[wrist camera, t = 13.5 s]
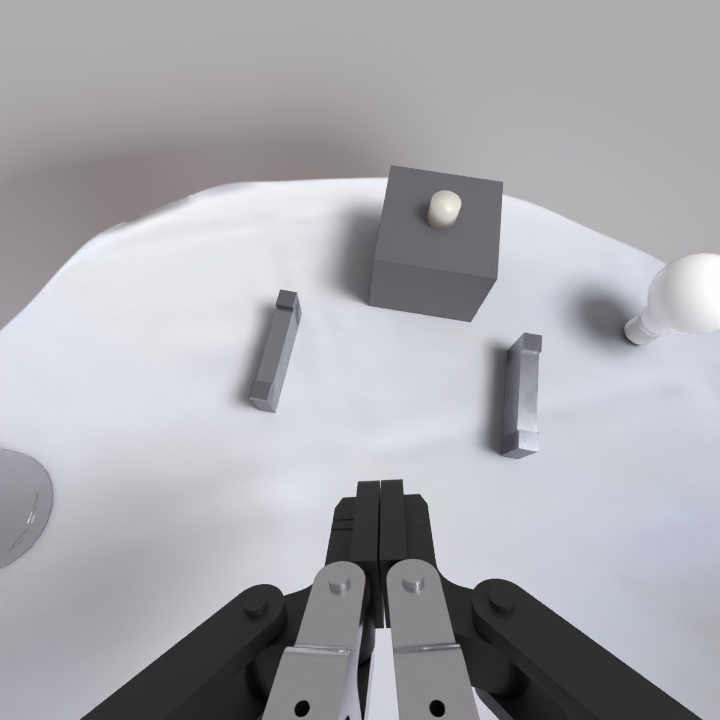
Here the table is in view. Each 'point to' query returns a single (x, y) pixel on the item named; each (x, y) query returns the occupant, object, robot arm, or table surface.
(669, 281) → the lightbulb
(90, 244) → the table surface
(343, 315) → the table surface
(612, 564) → the table surface
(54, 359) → the table surface
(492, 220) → the plug block
